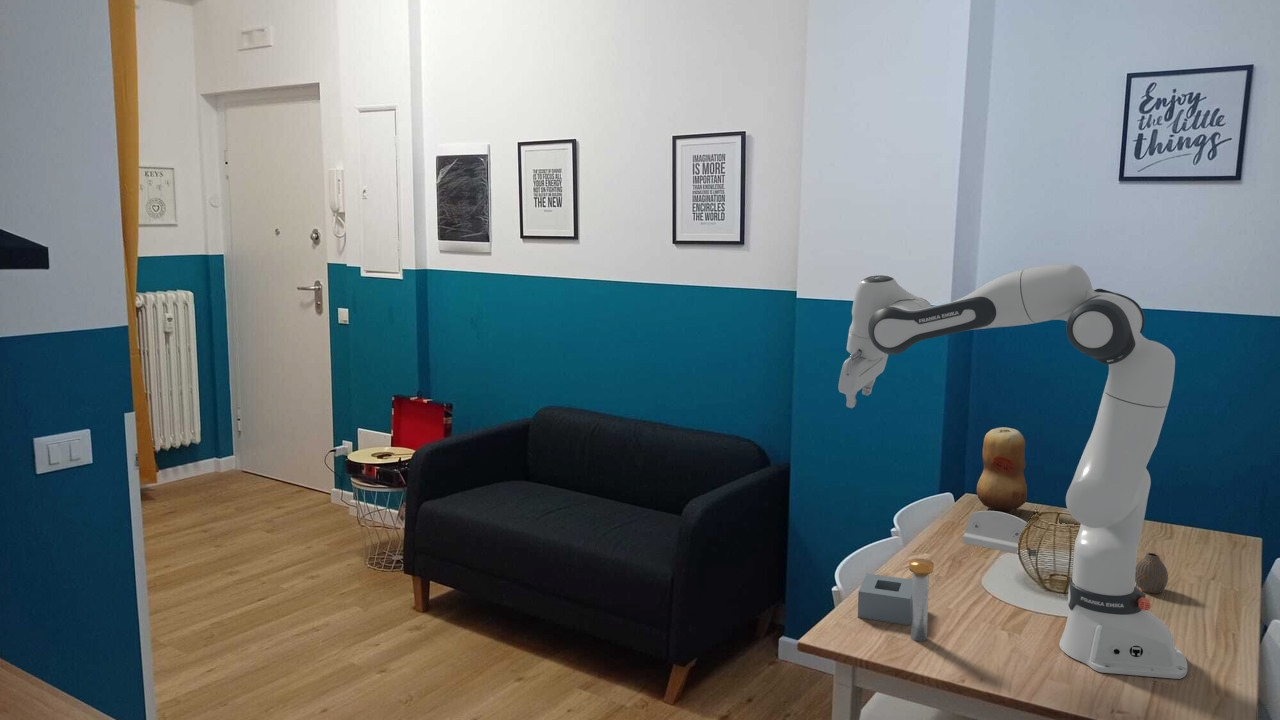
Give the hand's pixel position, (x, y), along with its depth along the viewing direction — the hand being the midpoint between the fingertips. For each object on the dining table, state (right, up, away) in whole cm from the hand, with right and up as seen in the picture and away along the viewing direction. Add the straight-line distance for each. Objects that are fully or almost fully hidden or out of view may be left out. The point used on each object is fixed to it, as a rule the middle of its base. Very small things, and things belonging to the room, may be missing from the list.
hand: (858, 400), depth 213 cm
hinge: (+44, -40, +31) cm, 67 cm away
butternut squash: (+56, -36, +58) cm, 88 cm away
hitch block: (+4, -47, -9) cm, 48 cm away
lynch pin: (+7, -49, -22) cm, 54 cm away
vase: (+68, -45, 0) cm, 81 cm away
